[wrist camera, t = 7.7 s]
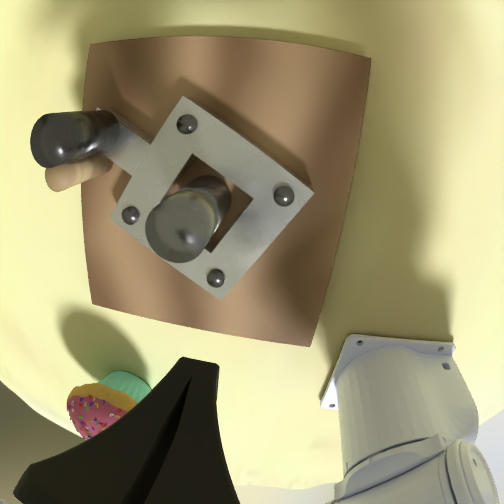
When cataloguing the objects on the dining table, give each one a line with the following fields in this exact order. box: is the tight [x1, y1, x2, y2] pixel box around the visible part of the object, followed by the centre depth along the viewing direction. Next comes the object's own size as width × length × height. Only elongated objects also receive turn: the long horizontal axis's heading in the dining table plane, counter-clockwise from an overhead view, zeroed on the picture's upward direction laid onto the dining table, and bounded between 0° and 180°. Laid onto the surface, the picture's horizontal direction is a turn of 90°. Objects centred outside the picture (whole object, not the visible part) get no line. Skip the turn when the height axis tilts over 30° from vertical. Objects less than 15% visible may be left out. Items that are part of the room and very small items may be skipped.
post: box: [145, 175, 231, 263], centre depth 15 cm, size 3×3×6 cm
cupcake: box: [67, 371, 151, 440], centre depth 21 cm, size 9×8×12 cm
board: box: [81, 36, 371, 347], centre depth 18 cm, size 16×18×1 cm
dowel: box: [45, 153, 113, 192], centre depth 15 cm, size 2×2×4 cm
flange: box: [30, 96, 314, 301], centre depth 14 cm, size 12×8×6 cm, turn 53°
